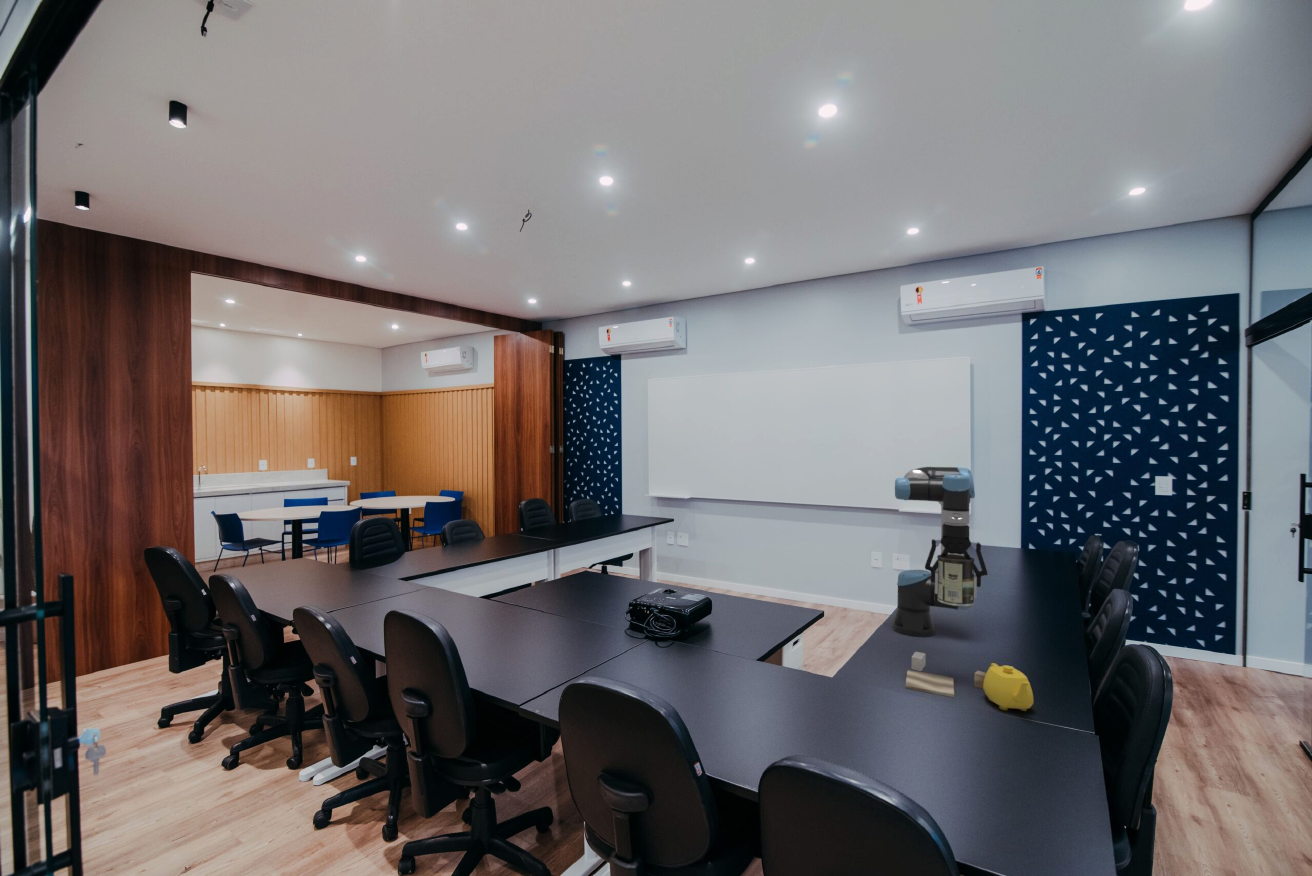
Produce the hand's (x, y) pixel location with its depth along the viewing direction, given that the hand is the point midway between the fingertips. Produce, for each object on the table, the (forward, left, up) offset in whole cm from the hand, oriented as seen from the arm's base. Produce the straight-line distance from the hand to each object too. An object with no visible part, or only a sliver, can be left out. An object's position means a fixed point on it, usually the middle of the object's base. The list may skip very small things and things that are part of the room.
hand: (955, 594), depth 178 cm
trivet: (+9, -7, -26) cm, 28 cm away
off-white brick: (-4, -11, -26) cm, 29 cm away
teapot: (+14, +13, -26) cm, 33 cm away
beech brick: (+3, +9, -26) cm, 28 cm away
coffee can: (0, 0, -3) cm, 3 cm away
